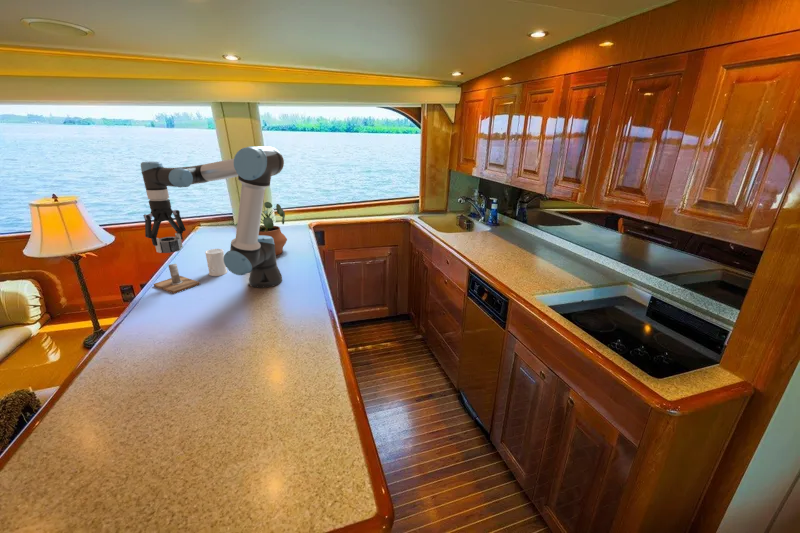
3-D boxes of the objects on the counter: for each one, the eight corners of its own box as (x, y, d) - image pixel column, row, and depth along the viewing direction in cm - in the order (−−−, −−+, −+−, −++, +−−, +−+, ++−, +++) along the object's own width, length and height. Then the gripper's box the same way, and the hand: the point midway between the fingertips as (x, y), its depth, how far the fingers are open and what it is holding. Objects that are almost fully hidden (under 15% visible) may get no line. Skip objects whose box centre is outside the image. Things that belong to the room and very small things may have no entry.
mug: (218, 279, 166) (213, 256, 161) (201, 278, 166) (196, 255, 162) (230, 270, 177) (227, 248, 172) (215, 269, 177) (211, 248, 173)
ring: (184, 249, 153) (182, 238, 151) (165, 254, 146) (163, 243, 144) (174, 246, 157) (171, 235, 155) (154, 250, 150) (152, 239, 148)
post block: (200, 284, 159) (196, 264, 156) (174, 293, 149) (169, 272, 146) (180, 277, 166) (175, 258, 162) (154, 286, 156) (148, 265, 152)
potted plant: (291, 255, 200) (286, 206, 190) (240, 262, 188) (231, 209, 178) (285, 245, 219) (280, 199, 209) (238, 250, 207) (230, 202, 197)
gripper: (178, 195, 153) (188, 242, 162) (125, 201, 136) (139, 254, 144) (188, 197, 150) (197, 245, 158) (136, 203, 133) (149, 257, 141)
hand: (170, 249), depth 151 cm, fingers closed on ring, 8 cm apart
